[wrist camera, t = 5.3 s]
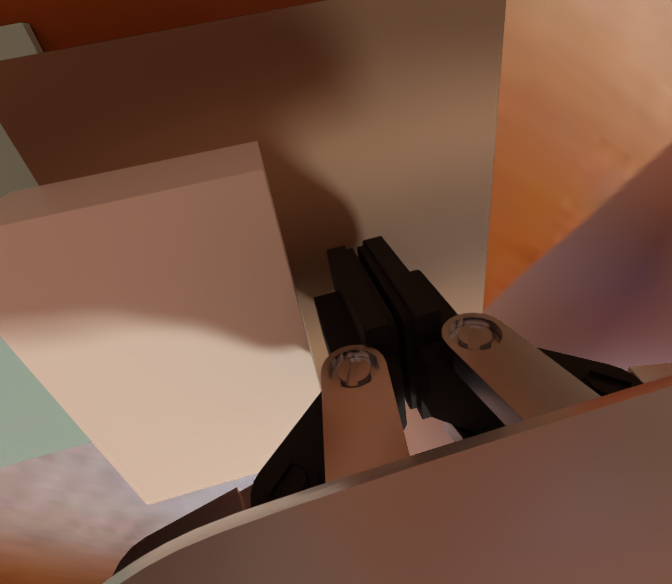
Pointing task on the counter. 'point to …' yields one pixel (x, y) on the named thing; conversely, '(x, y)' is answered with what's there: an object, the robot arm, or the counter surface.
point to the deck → (298, 124)
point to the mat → (3, 364)
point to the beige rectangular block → (161, 315)
